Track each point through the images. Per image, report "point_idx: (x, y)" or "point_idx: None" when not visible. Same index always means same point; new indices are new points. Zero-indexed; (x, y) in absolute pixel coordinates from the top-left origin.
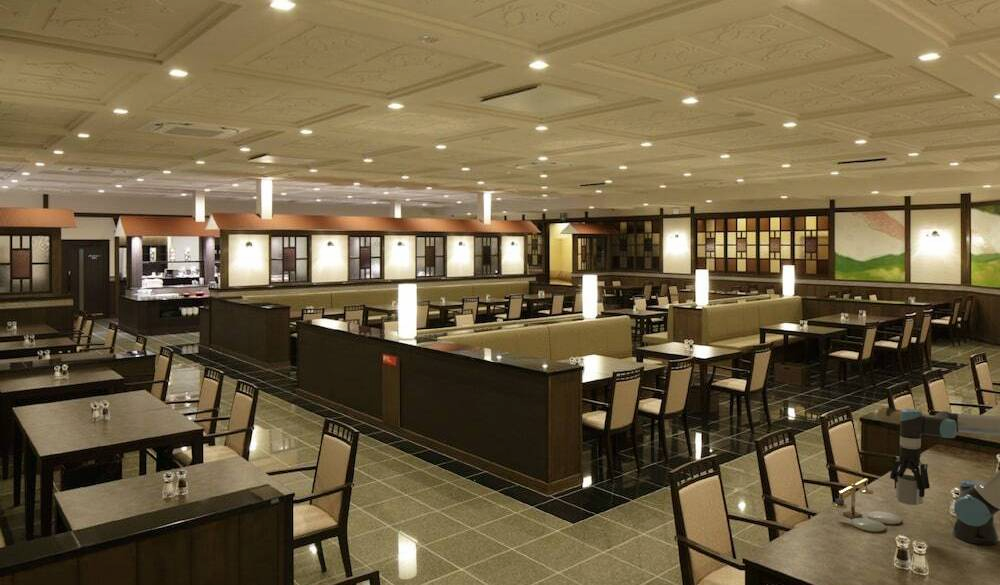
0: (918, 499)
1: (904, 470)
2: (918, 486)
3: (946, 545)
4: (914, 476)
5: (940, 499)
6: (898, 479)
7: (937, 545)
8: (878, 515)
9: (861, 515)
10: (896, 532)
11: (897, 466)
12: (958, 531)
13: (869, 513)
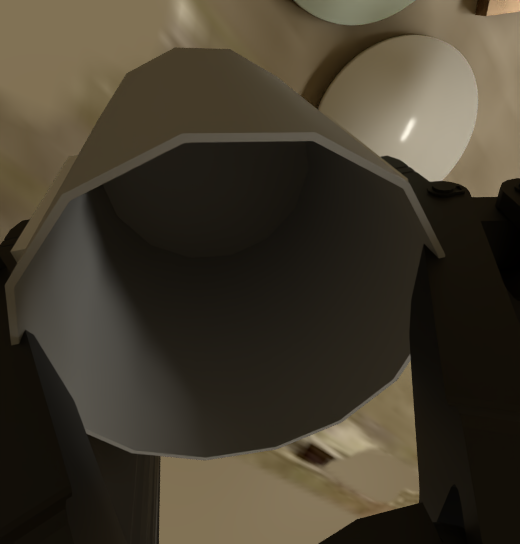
0: (56, 184)
1: (422, 428)
2: (4, 283)
3: (8, 172)
4: (47, 410)
5: (404, 434)
6: (349, 144)
7: (4, 120)
8: (422, 113)
9: (484, 6)
10: (222, 27)
11: None
12: None
13: (467, 82)
